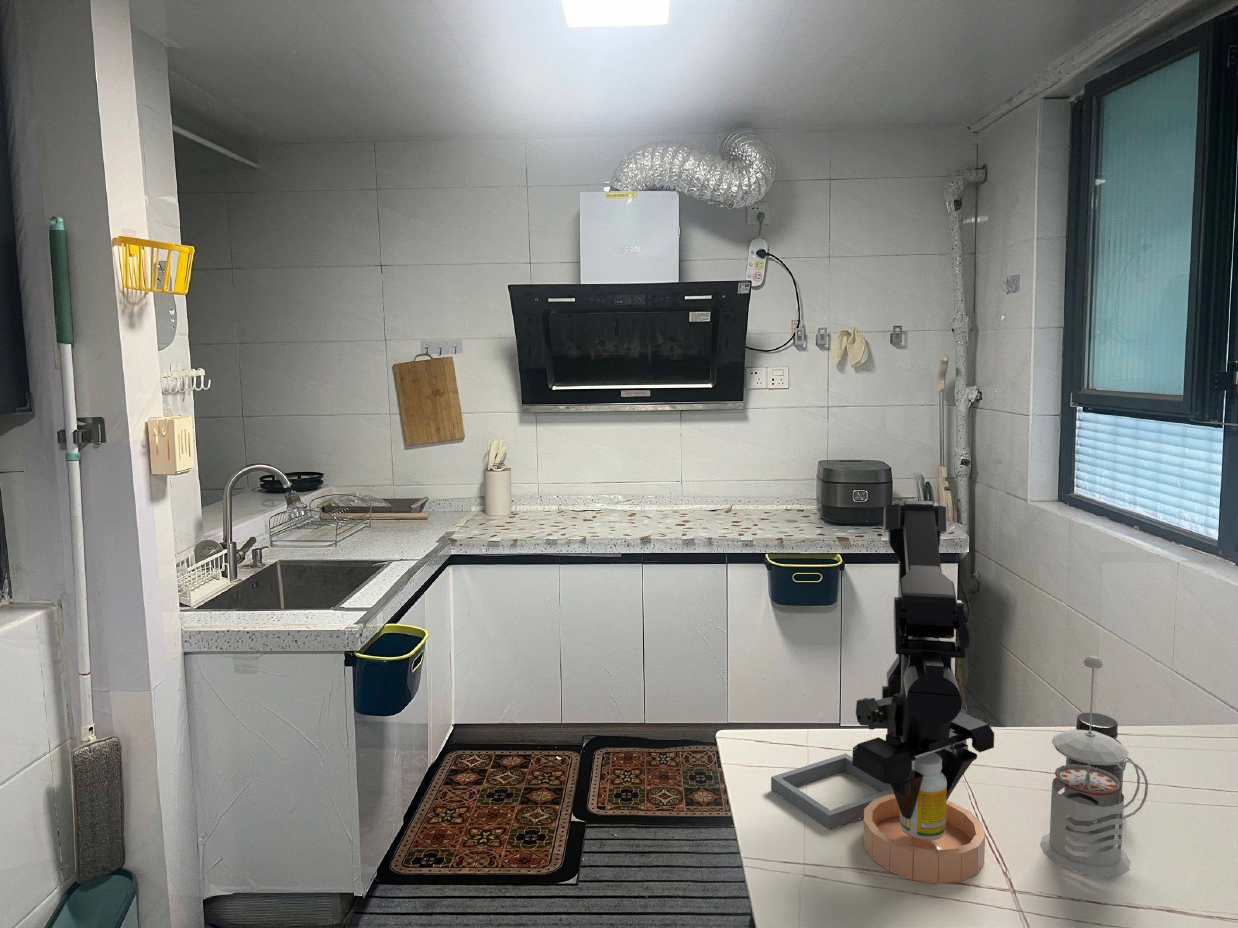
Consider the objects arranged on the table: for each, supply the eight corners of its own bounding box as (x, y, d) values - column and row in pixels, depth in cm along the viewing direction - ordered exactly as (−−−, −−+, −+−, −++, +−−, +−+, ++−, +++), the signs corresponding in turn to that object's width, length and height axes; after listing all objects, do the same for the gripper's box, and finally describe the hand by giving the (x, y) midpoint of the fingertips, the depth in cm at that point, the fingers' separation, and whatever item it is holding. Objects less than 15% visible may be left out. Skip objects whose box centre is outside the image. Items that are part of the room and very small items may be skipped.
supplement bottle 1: (892, 831, 106) (893, 757, 104) (910, 813, 109) (912, 742, 108) (934, 847, 102) (936, 771, 101) (952, 828, 106) (954, 755, 105)
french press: (1025, 830, 109) (1032, 642, 106) (1117, 830, 109) (1127, 641, 106) (1063, 877, 100) (1072, 671, 96) (1164, 876, 99) (1176, 670, 96)
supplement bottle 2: (1057, 804, 115) (1061, 720, 114) (1072, 785, 120) (1075, 704, 119) (1114, 822, 111) (1119, 734, 109) (1127, 801, 116) (1131, 717, 114)
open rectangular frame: (845, 765, 128) (845, 753, 127) (907, 801, 117) (907, 787, 117) (771, 789, 121) (771, 776, 121) (829, 829, 111) (829, 815, 110)
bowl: (918, 807, 115) (919, 783, 115) (1008, 860, 103) (1009, 833, 103) (840, 837, 109) (840, 811, 108) (926, 896, 96) (927, 867, 96)
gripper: (927, 656, 115) (925, 765, 117) (821, 684, 106) (820, 801, 108) (999, 683, 105) (995, 801, 107) (888, 716, 96) (886, 845, 98)
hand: (922, 810), depth 105 cm, fingers closed on supplement bottle 1, 5 cm apart
